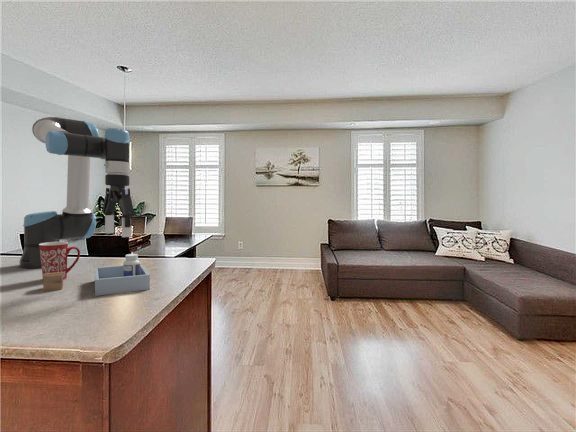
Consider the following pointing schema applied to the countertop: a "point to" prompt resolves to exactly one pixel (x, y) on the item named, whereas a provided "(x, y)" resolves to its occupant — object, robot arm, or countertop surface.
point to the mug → (56, 257)
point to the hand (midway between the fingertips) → (117, 235)
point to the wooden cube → (53, 281)
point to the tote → (119, 280)
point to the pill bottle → (131, 265)
